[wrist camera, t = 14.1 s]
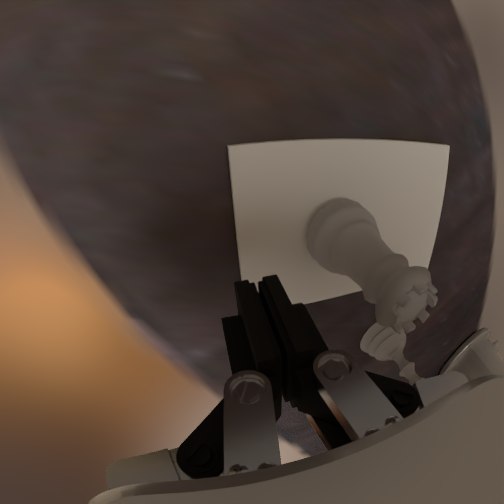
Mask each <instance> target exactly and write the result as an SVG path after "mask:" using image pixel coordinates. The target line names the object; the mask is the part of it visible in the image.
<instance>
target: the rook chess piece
mask: <svg viewBox="0 0 504 504" xmlns="http://www.w3.org/2000/svg"><path fill="white" fill-rule="evenodd" d="M306 237H307V249H308V251H309V253H310V255H311V256H312V258H313V259H314V260H316V261H317V262H318V264H319V265H320V266H321V267H323V268H325V269H326V270H328V271H329V272H331V273H337V274H340V275H345V276H348V277H349V278H350V279H352V280H353V281H354V282H355V283H357V284H358V285H359V286H360V287H361V289H362V290H363V292H362V293H363V295H364V298H365V300H366V301H368V302H370V303H375V304H376V305H375V318H376V320H377V323H378V324H380V325H382V326H383V327H392V328H393V329H394V331H395V332H397V333H398V334H401V332H402V331H403V330H404V331H405V332H406V333H409V332H411V331H413V330H415V325H414V323H413V322H412V321H413V320H415V319H416V318H417V317H418V318H419V319H420V320H421V321H422V323H424V322H425V321H426V319H427V318H428V317H429V316H430V314H429V313H428V312H427V311H426V310H425V308H426V306H427V304H429V305H430V306H431V307H435V306H436V304H437V300H438V297H437V296H436V295H435V294H436V293H437V292H438V290H437V289H436V288H435V287H434V286H433V285H432V283H431V274H430V272H429V271H428V269H427V268H426V267H421V266H411V267H409V263H408V259H407V258H406V257H405V256H404V255H402V254H397V253H394V252H393V251H392V250H391V249H390V248H389V247H388V246H387V245H386V243H385V242H384V241H383V240H382V239H381V236H380V232H379V229H378V227H377V223H376V220H375V218H374V217H373V216H372V215H371V214H370V213H369V212H368V211H367V210H366V209H365V208H363V207H362V206H361V205H360V204H359V203H358V202H356V201H352V200H348V199H343V200H338V201H333V202H331V203H330V204H328V205H327V206H325V207H323V208H322V209H320V211H319V212H318V213H317V214H316V216H315V217H314V218H313V220H312V221H311V223H310V226H309V229H308V232H307V235H306Z"/></svg>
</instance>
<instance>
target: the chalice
mask: <svg viewBox="0 0 504 504" xmlns="http://www.w3.org/2000/svg"><path fill="white" fill-rule="evenodd" d="M405 344H406V334H405V331H404V330H403V331H402V332H401V334H398V333H397V332H395V331H394V329H393V328H392V327H383V326H382V325H380V324H378V323H377V322H376V323H374V324H373V325H372V326H371V327H370V328H369V329H368V330H367V332H366V333H365V334H364V336H363V338H362V340H361V343H360V348H361V350H362V351H364V352H366V353H369V355H370V356H372V357H375V359H377V360H381V361H387V360H394V361H395V362H396V363H397V364H398V366H399V369H400V373H399V376H404V377H406V378H407V379H408V380H409V383H410V385H411V384H414V382H415V381H419V380H423V379H425V378H422V377H419V376H418V375H417V374H416V372H415V369H414V367H415V363H413V362H409V361H408V360H406V359H405V358H404V355H403V353H402V352H403V348H404V347H405Z"/></svg>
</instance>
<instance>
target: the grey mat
mask: <svg viewBox="0 0 504 504" xmlns="http://www.w3.org/2000/svg"><path fill="white" fill-rule="evenodd" d="M227 148H228V158H229V169H230V179H231V189H232V199H233V209H234V219H235V228H236V238H237V247H238V256H239V266H240V275H241V281H242V280H249V283H252V282H254V283H255V285H256V288H257V291H258V281H262V277H265V276H270V275H275V274H276V275H277V276H278V278H279V280H280V282H281V284H282V285H283V287H284V289H285V291H286V293H287V295H288V297H289V299H290V301H291V303H292V304H296V303H303V304H308V303H313V302H317V301H321V300H326V299H330V298H334V297H338V296H342V295H346V294H350V293H354V292H358V291H362V289H361V287H360V286H359V285H358V284H357V283H355V282H354V281H353V280H352V279H350V278H349V277H348V276H345V275H340V274H337V273H331V272H329V271H328V270H326V269H325V268H323V267H321V266H320V265H319V264H318V262H317V261H316V260H314V259H313V258H312V256H311V255H310V253H309V251H308V249H307V237H306V235H307V232H308V229H309V226H310V223H311V221H312V220H313V218H314V217H315V216H316V214H317V213H318V212H319V211H320V209H322V208H323V207H325V206H327V205H328V204H330V203H331V202H333V201H338V200H343V199H348V200H352V201H356V202H358V203H359V204H360V205H361V206H362V207H363V208H365V209H366V210H367V211H368V212H369V213H370V214H371V215H372V216H373V217H374V218H375V220H376V223H377V227H378V229H379V232H380V236H381V239H382V240H383V241H384V242H385V243H386V245H387V246H388V247H389V248H390V249H391V250H392V251H393V252H394V253H397V254H402V255H404V256H405V257H406V258H407V259H408V263H409V267H411V266H421V267H426V268H427V269H428V266H429V262H430V258H431V255H432V251H433V247H434V242H435V238H436V234H437V229H438V225H439V220H440V214H441V209H442V203H443V198H444V191H445V184H446V177H447V169H448V159H449V148H450V146H449V145H446V144H438V143H429V142H418V141H405V140H389V139H361V138H323V139H294V140H277V141H264V142H252V143H242V144H233V145H227ZM258 293H259V292H258Z"/></svg>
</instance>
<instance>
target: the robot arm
mask: <svg viewBox="0 0 504 504" xmlns="http://www.w3.org/2000/svg"><path fill="white" fill-rule="evenodd" d="M234 285H235V293H236V300H237V307H238V315H237V316H231V317H226V318H221V319H222V324H223V330H224V335H225V340H226V345H227V350H228V355H229V360H230V365H231V370H232V376H231V377H230V378H229V379H228V380H227V382H226V383H225V386H224V398H223V399H222V400H221V402H220V403H219V404H218V405H217V406H216V407H215V408H214V409H213V410H212V412H211V413H210V414H209V415H208V416H207V417H206V418H205V419H204V420H203V421H202V423H201V424H200V425H199V426H198V427H197V428H196V429H195V430H194V431H193V432H192V433H191V434H190V435H189V436H188V438H187V439H186V440H185V441H184V442H183V443H182V444H181V445H180V447H178V448H175V449H172V450H168V449H163V450H160V451H156V452H152V453H148V454H144V455H139V456H135V457H130V458H126V459H120V460H117V461H114V462H112V463H111V464H110V465H109V466H108V468H107V470H106V480H107V484H108V488H109V490H108V491H106V492H103V493H101V494H99V495H97V496H95V497H94V498H93V499H91V500H90V501H89V502H88V504H504V360H503V359H502V358H501V357H500V356H499V354H498V348H497V347H498V346H499V345H500V342H499V341H498V340H497V341H495V342H494V343H493V344H492V343H491V342H490V340H489V336H490V331H489V330H488V329H487V328H482V329H480V330H478V331H477V332H476V333H474V334H473V335H472V336H471V337H470V338H468V339H467V340H466V341H465V342H464V343H463V344H462V345H461V346H460V347H459V348H458V349H457V351H456V352H455V353H454V354H453V355H452V356H451V358H450V359H449V360H448V361H447V363H446V364H445V365H444V367H443V368H442V370H441V372H440V374H439V375H438V376H434V377H431V378H427V379H423V380H419V381H415V382H414V384H411V385H410V384H408V383H405V382H401V381H398V380H394V379H391V378H387V377H384V376H381V375H377V374H374V373H371V372H368V371H364V370H363V369H362V368H361V366H360V365H359V364H358V363H357V362H356V360H355V359H354V358H353V357H352V356H351V355H350V354H348V353H346V352H344V351H341V350H328V348H327V346H326V344H325V342H324V340H323V338H322V337H321V335H320V333H319V331H318V329H317V328H316V326H315V324H314V322H313V320H312V318H311V317H310V315H309V313H308V311H307V309H306V308H305V306H304V304H303V303H296V304H292V303H291V301H290V299H289V297H288V295H287V293H286V291H285V289H284V287H283V285H282V284H281V282H280V280H279V278H278V276H277V275H276V274H275V275H270V276H265V277H262V281H258V291H257V288H256V285H255V283H254V282H252V283H249V280H242V281H237V282H234ZM258 292H259V293H258ZM282 395H283V398H284V400H285V402H288V401H290V403H291V405H292V408H294V407H297V408H298V411H301V412H303V413H306V416H307V418H308V420H309V422H310V423H311V425H312V427H313V428H314V430H315V431H316V433H317V435H318V436H319V438H320V440H321V441H322V443H323V444H324V446H325V448H326V449H327V451H326V452H323V453H320V454H317V455H314V456H311V457H308V458H304V459H301V460H298V461H294V462H290V463H286V464H283V465H281V458H280V451H279V442H278V434H277V426H276V422H277V420H278V419H279V417H280V416H281V403H282Z"/></svg>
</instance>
